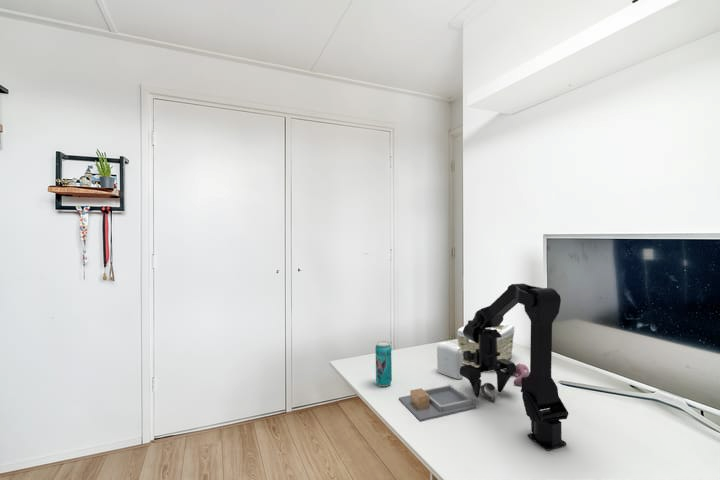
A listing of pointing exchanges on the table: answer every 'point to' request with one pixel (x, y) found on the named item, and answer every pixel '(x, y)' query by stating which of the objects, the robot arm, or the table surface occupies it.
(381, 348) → the beverage can
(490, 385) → the wristwatch
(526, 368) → the video game controller
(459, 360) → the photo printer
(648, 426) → the table surface
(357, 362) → the table surface
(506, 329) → the storage basket
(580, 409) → the table surface
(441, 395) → the grey tray
